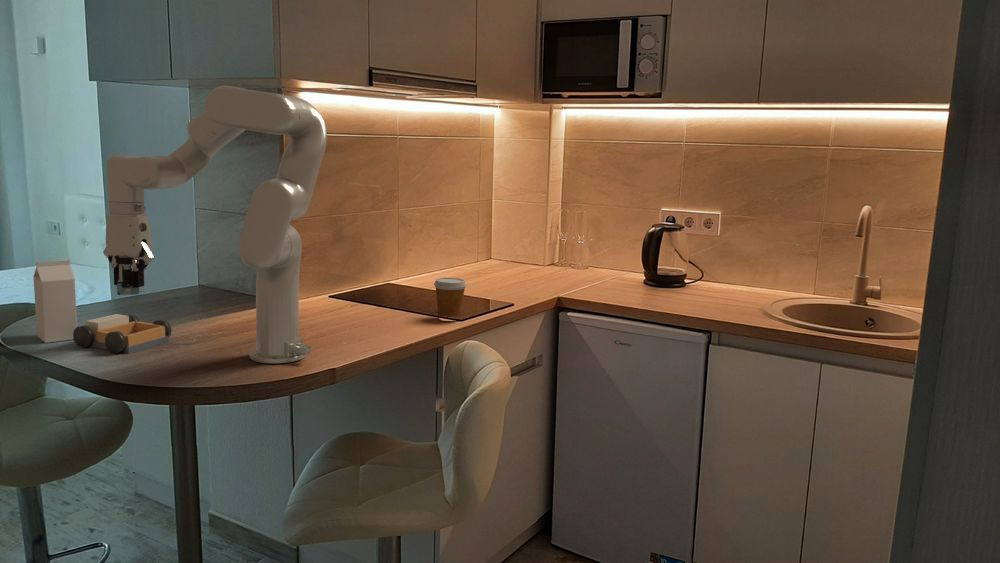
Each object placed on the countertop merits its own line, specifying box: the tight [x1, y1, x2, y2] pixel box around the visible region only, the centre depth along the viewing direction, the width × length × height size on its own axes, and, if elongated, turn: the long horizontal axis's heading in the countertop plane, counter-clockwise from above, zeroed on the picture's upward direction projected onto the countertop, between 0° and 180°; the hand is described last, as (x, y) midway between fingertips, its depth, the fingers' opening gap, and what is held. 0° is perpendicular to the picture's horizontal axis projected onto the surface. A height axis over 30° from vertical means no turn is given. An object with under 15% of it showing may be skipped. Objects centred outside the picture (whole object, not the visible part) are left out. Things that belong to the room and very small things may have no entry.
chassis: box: [73, 313, 172, 354], centre depth 181 cm, size 16×15×6 cm
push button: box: [115, 253, 148, 296], centre depth 177 cm, size 7×5×10 cm
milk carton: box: [32, 259, 78, 344], centre depth 181 cm, size 7×7×19 cm
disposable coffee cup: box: [433, 277, 467, 317], centre depth 222 cm, size 10×10×12 cm
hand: (129, 284), depth 178 cm, fingers closed on push button, 4 cm apart
